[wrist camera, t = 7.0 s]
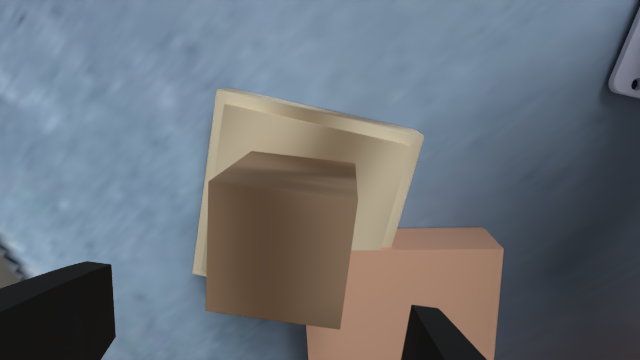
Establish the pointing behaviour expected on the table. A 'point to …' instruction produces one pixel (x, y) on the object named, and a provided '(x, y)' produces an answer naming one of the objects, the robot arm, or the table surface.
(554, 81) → the table surface
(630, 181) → the table surface
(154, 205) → the table surface
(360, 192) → the birch plinth
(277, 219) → the walnut block
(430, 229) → the salmon pink slab
